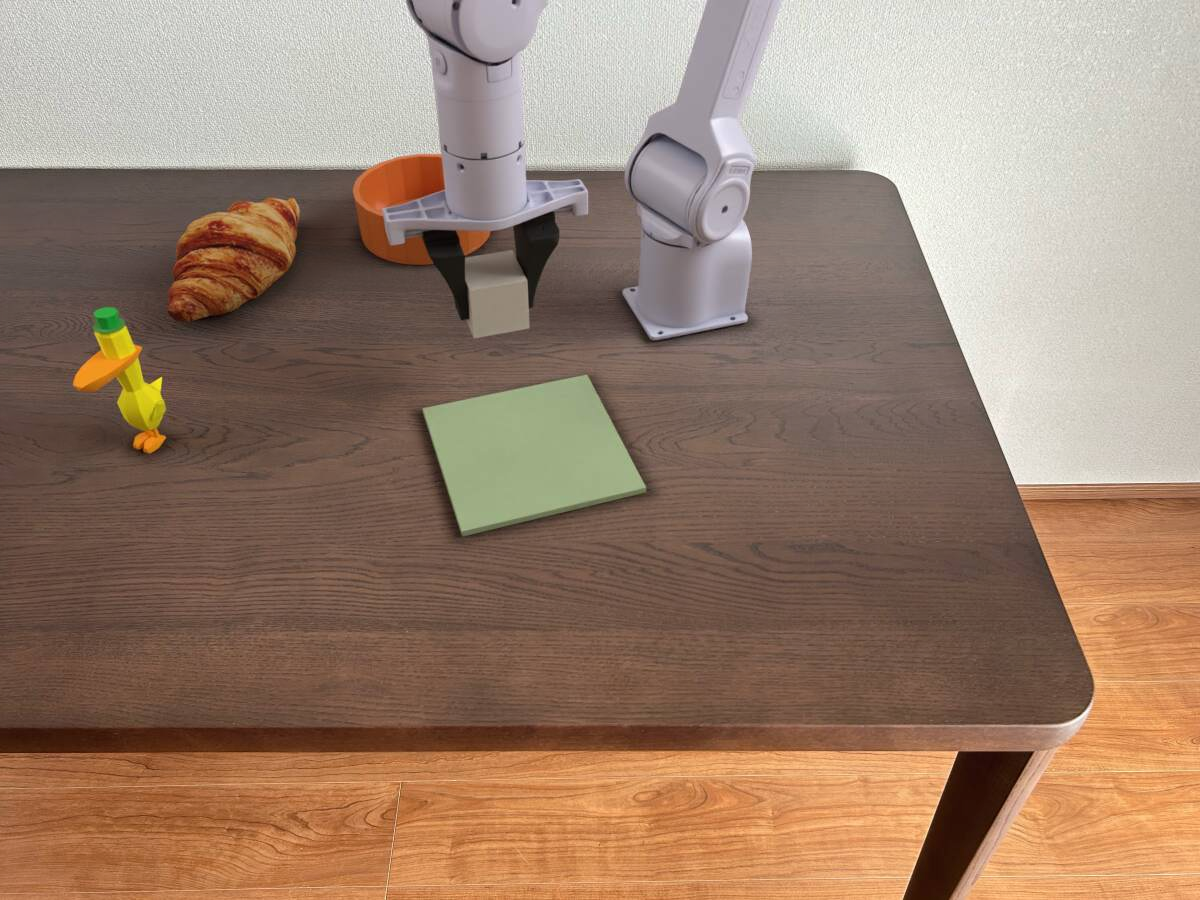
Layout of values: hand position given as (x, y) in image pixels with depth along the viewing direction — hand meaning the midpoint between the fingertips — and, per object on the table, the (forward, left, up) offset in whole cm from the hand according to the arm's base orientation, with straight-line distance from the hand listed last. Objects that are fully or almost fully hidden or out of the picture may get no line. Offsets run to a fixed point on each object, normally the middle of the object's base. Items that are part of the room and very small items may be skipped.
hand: (494, 307), depth 75 cm
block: (0, 0, -1) cm, 1 cm away
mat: (0, +8, -8) cm, 11 cm away
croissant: (+19, -24, -9) cm, 32 cm away
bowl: (+1, -27, -8) cm, 28 cm away
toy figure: (+28, -2, -9) cm, 29 cm away
